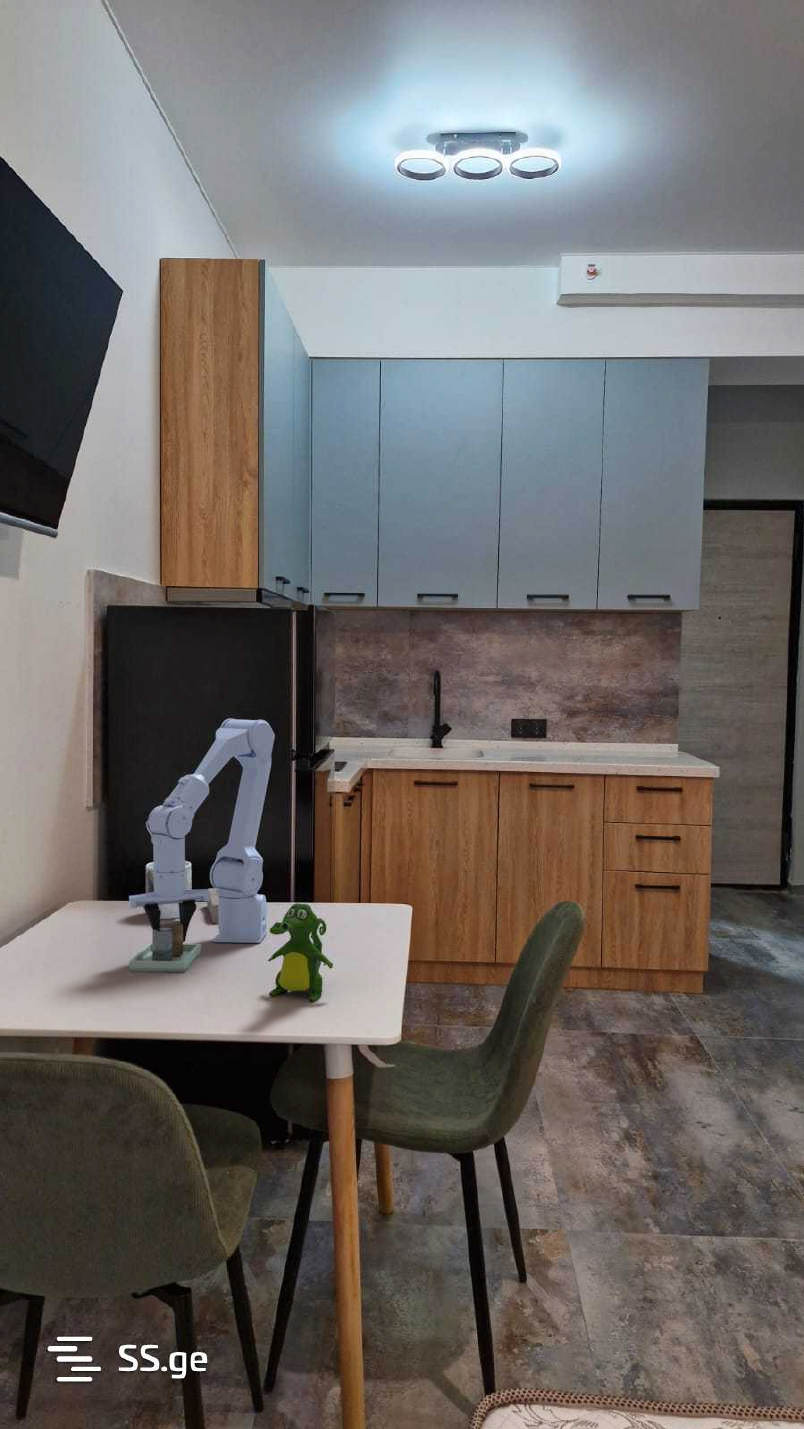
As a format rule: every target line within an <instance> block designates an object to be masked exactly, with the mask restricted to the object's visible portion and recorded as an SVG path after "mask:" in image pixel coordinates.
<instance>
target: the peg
mask: <svg viewBox="0 0 804 1429" xmlns="http://www.w3.org/2000/svg"><path fill="white" fill-rule="evenodd" d="M151 931H152V938H151V940H152V942H151V943H152V961H172V952H173V929H171V928H156V929H153V930H151Z"/></svg>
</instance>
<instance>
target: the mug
mask: <svg viewBox="0 0 804 1429" xmlns="http://www.w3.org/2000/svg"><path fill="white" fill-rule="evenodd" d="M192 885H193V884H192V863H191V861H187V860H185V890H193V889H192V888H193V887H192ZM152 892H154V861H152V862H148V863H147V864H146V865H145V894H146V893H152ZM158 907H159V910H160V911H161V915H160V920H161V919H162V920H169V919H170V920H171V919H180V918H179V905H178V903H174V904H163V905H158Z"/></svg>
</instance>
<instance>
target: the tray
mask: <svg viewBox="0 0 804 1429" xmlns="http://www.w3.org/2000/svg"><path fill="white" fill-rule="evenodd" d="M200 955H202V944H201V943H183V955H175V956H172V961H152V942H148V944H147V945H146V946H144V947H143V948H142V949H141V950H140V951H139V952H138V953H137V954H136V955H135V956H133V958H131V960H129V962H128V964H129V966H128V967H129V972H138V973H139V972H143V973H144V972H149V973H153V972H154V973H157V972H158V973H186V971H187V970H188V969H189V968H190V966H192V964H193V963H194V962H195V961H196V960H197V959H198V958H199V957H200Z"/></svg>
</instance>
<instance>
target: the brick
mask: <svg viewBox="0 0 804 1429" xmlns="http://www.w3.org/2000/svg"><path fill="white" fill-rule="evenodd" d="M207 890H208V891H209V901H206V906H207V910H208V912H209V913H208V914H209V915H210V919H211V921H212V923H213V924H218V894H217V893H216V888H214V887H213V888H212V887H211V888H208V889H207Z"/></svg>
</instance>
